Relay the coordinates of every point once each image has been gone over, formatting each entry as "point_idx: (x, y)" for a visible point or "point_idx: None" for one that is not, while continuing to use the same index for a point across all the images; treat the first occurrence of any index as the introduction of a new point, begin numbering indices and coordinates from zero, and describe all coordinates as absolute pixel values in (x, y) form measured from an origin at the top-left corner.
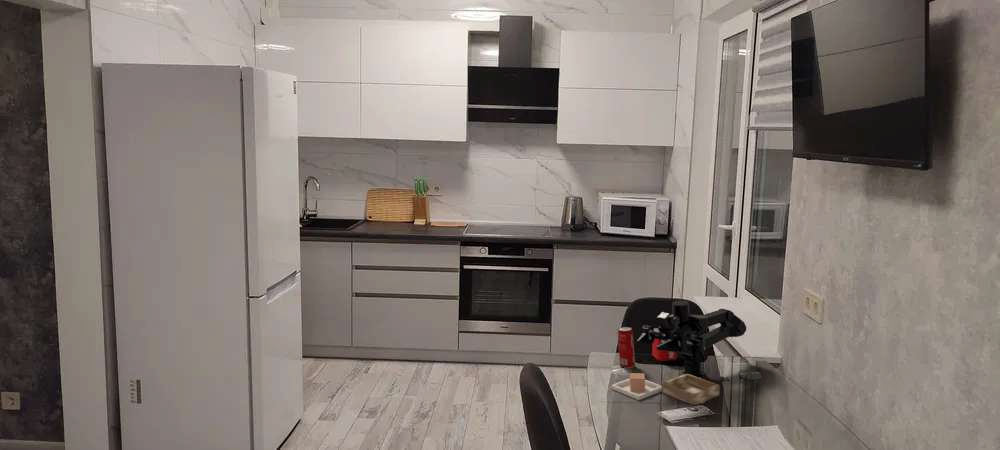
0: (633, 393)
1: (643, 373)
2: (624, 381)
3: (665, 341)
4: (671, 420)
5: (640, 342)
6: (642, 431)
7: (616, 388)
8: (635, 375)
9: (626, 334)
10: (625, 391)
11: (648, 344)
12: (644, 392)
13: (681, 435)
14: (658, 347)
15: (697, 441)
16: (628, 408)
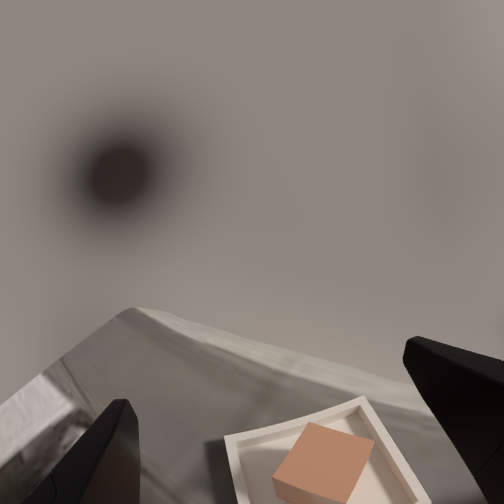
0: (255, 432)
1: (346, 500)
2: (386, 446)
3: (70, 500)
4: (76, 434)
5: (430, 384)
6: (100, 359)
7: (338, 408)
8: (334, 455)
9: None
10: (293, 421)
11: (487, 499)
12: (241, 471)
13: (35, 397)
14: (112, 409)
15: (9, 398)
16: (205, 398)
